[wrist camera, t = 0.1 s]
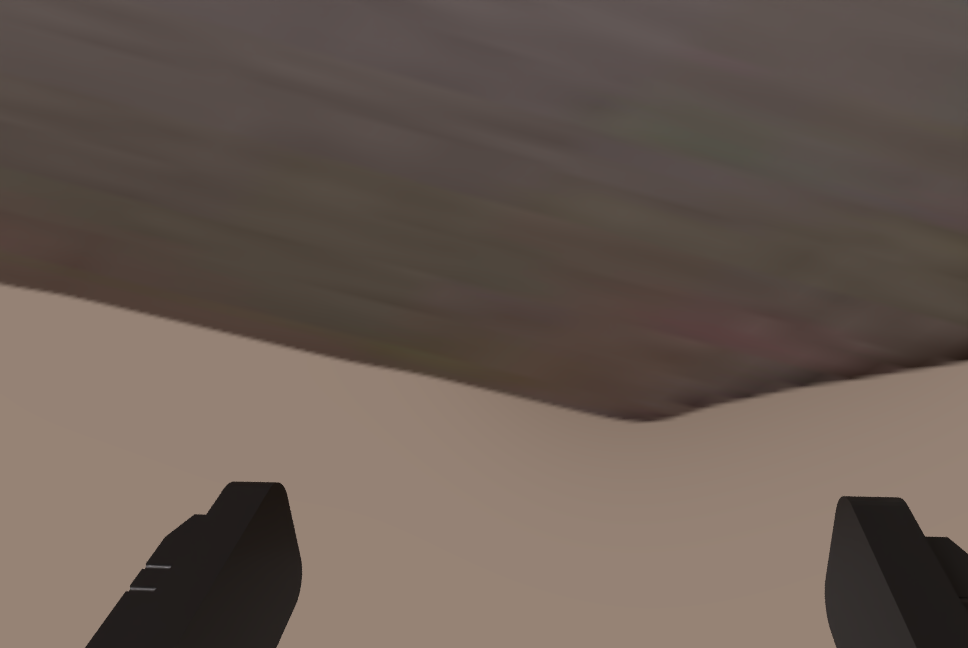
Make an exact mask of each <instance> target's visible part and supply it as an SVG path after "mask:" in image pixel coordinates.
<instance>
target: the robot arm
mask: <svg viewBox="0 0 968 648" xmlns="http://www.w3.org/2000/svg"><path fill="white" fill-rule="evenodd" d="M301 580H302V563H301V557H300V552H299V547H298V543H297V539H296V534H295V529H294V525H293V520H292V515H291V511H290V506H289V501H288V497H287V493H286V490H285V488H284V486H283V485H282V484H281V483H276V482H231V483H229V484H228V485H227V486H226V487H225V488H224V489H223V491H222V492H221V494H220V495H219V497H218V498H217V500H216V501H215V503H214V504H213V506H212V507H211V509H210V510H209V511H208V513H207V514H206V515H197V514H195V515H194V516H192V517H191V518H189V519H188V520H187V521H185V522H184V523H183V524H182V525H180V526H179V527H178V528H176V529H175V530H174V531H172V532H171V533H170V534H168V535H167V536H166V537H165V538H164V539H163V541H162V542H161V544H160V545H159V546H158V548H157V549H156V551H155V552H154V553H153V555H152V556H151V557H150V559H149V560H148V562H147V563H146V568H145V569H142V570H141V571H140V573H139V574H138V575H137V577H136V578H135V579H134V581H133V582H132V584H131V585H130V590H129V592H128V591H127V592H125V593H124V595H123V596H122V597H121V599H120V600H119V602H118V603H117V604H116V606H115V607H114V608H113V610H112V611H111V613H110V614H109V615H108V617H107V618H106V620H105V621H104V623H103V624H102V625H101V626H100V628H99V629H98V631H97V632H96V633H95V635H94V636H93V637H92V639H91V640H90V642H89V643H88V645H87V646H86V647H85V648H276V647H277V645H278V643H279V641H280V638H281V636H282V634H283V632H284V629H285V627H286V625H287V623H288V621H289V618H290V616H291V614H292V612H293V609H294V607H295V605H296V602H297V600H298V596H299V593H300V587H301ZM825 603H826V612H827V618H828V623H829V627H830V630H831V633H832V636H833V639H834V642H835V645H836V647H837V648H968V554H967V553H966V552H965V551H964V550H962V549H961V548H960V547H959V546H958V545H956V544H955V543H954V542H953V541H951V540H950V539H949V538H948V537H925V536H924V534H923V532H922V530H921V529H920V527H919V525H918V523H917V521H916V520H915V518H914V516H913V514H912V512H911V511H910V509H909V507H908V506H907V504H906V502H905V501H904V500H903V499H901V498H896V497H895V498H894V497H850V496H843V497H841V498H840V499H839V501H838V504H837V508H836V513H835V520H834V526H833V533H832V540H831V547H830V553H829V560H828V566H827V573H826V580H825Z"/></svg>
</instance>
